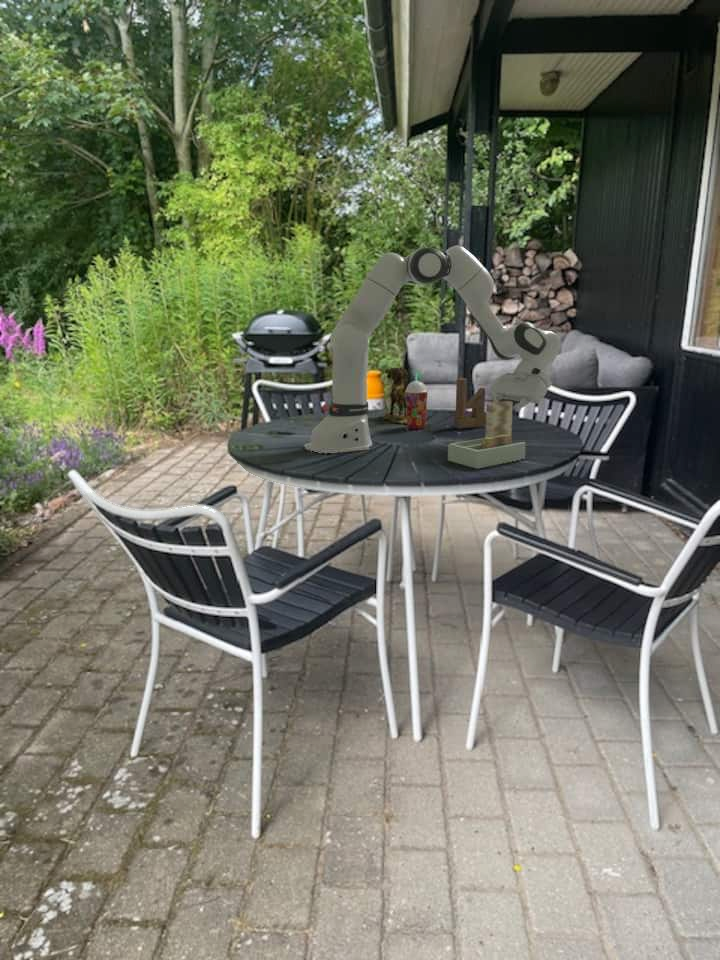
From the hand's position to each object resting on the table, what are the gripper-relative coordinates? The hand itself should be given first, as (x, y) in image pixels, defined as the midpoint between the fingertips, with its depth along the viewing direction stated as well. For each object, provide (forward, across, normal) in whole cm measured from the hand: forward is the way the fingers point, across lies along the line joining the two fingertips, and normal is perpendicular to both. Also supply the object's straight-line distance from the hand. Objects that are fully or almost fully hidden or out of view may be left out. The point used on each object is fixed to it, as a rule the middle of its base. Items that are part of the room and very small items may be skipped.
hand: (504, 408), depth 224 cm
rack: (+21, +12, -5) cm, 25 cm away
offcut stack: (+21, +15, -5) cm, 26 cm away
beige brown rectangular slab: (+10, 0, +7) cm, 12 cm away
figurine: (+7, -59, +10) cm, 61 cm away
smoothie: (+11, -41, +6) cm, 43 cm away
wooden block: (0, -30, +18) cm, 35 cm away
